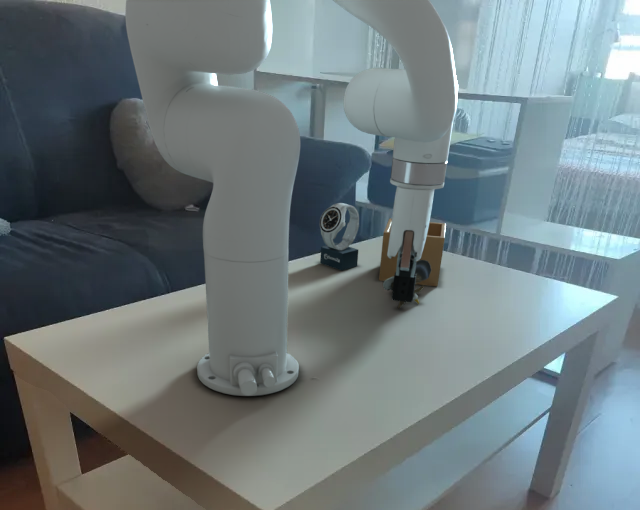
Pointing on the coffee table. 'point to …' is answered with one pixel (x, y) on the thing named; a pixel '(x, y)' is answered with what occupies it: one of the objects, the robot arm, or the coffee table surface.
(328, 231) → the watch
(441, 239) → the box
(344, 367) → the coffee table surface
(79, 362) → the coffee table surface
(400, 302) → the eagle figurine
